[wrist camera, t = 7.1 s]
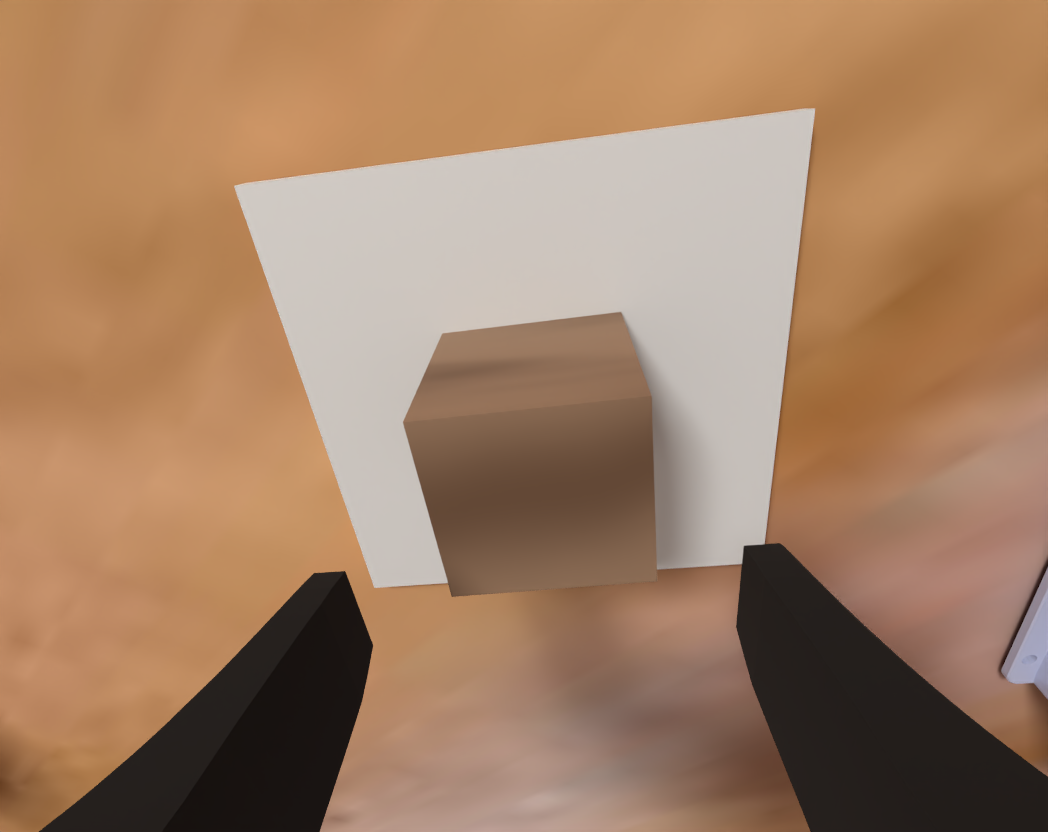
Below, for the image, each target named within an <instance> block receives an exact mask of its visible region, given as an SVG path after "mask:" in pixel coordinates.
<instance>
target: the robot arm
mask: <svg viewBox="0 0 1048 832" xmlns="http://www.w3.org/2000/svg"><path fill="white" fill-rule="evenodd" d="M736 627H737V631H738V635H739V639H740V642H741V646H742V650H743V654H744V657H745V661H746V664H747V668H748V671H749V675H750V678H751V682H752V685H753V688H754V690H755V693H756V695H757V698H758V701H759V703H760V706H761V708H762V711H763V713H764V716H765V718H766V721H767V723H768V726H769V728H770V731H771V734H772V736H773V739H774V741H775V743H776V746H777V748H778V751H779V753H780V756H781V758H782V761H783V763H784V766H785V768H786V771H787V773H788V776H789V778H790V781H791V783H792V786H793V788H794V791H795V793H796V796H797V798H798V801H799V803H800V806H801V808H802V811H803V813H804V816H805V818H806V821H807V823H808V826H809V828H810V831H811V832H1048V777H1047V776H1046V775H1045V774H1043V773H1042V772H1040V771H1039V770H1038V769H1036V768H1035V767H1034V766H1032V765H1031V764H1030V763H1028V762H1027V761H1026V760H1024V759H1023V758H1022V757H1020V756H1019V755H1018V754H1017V753H1015V752H1014V751H1013V750H1011V749H1010V748H1009V747H1007V746H1006V745H1005V744H1003V743H1002V742H1001V741H999V740H998V739H997V738H995V737H994V736H993V735H992V734H990V733H989V732H988V731H987V730H985V729H984V728H983V727H982V726H980V725H979V724H978V723H976V722H975V721H974V720H973V719H971V718H970V717H969V716H968V715H967V714H965V713H964V712H963V711H962V710H960V709H959V708H958V707H957V706H956V705H954V704H953V703H952V702H951V701H949V700H948V699H947V698H946V697H945V696H944V695H942V694H941V693H940V692H939V691H938V690H936V689H935V688H934V687H933V686H932V685H931V684H929V683H928V682H927V681H926V680H925V679H923V678H922V677H921V676H920V675H919V674H918V673H916V672H915V671H914V670H913V669H912V668H911V667H910V666H909V665H907V664H906V663H905V662H904V661H903V660H902V659H901V658H899V657H898V656H897V655H896V654H895V653H894V652H893V651H892V650H891V649H889V648H888V647H887V646H886V645H885V644H884V643H883V642H882V641H881V640H880V639H879V638H878V637H876V636H875V635H874V634H873V633H872V632H871V631H870V630H869V629H868V628H867V627H866V626H864V625H863V624H862V623H861V622H860V621H859V620H858V619H857V618H856V617H855V616H854V615H853V614H852V613H851V612H850V611H849V610H848V609H846V608H845V607H844V606H843V605H842V604H841V603H840V602H839V601H838V600H837V599H836V598H835V597H834V596H833V595H832V594H831V593H830V592H829V591H828V590H827V589H826V588H825V587H824V586H823V585H822V584H821V583H820V582H819V581H818V580H817V579H816V578H815V577H814V576H813V575H812V574H811V573H810V572H809V571H808V570H807V569H806V568H805V567H804V566H803V565H802V564H801V563H800V562H799V561H798V560H797V559H796V558H795V557H794V556H793V555H792V554H791V553H790V552H789V551H788V550H787V549H786V548H785V547H784V546H783V545H781V544H780V543H777V544H762V545H746V546H744V548H743V559H742V570H741V581H740V592H739V603H738V614H737V625H736ZM372 648H373V644H372V641H371V639H370V636H369V633H368V631H367V628H366V625H365V623H364V620H363V617H362V615H361V612H360V609H359V607H358V604H357V601H356V599H355V596H354V593H353V591H352V588H351V586H350V583H349V580H348V578H347V575H346V572H345V571H342V572H326V573H314V574H313V575H312V576H311V577H310V578H309V579H308V580H307V581H306V582H305V583H304V584H303V585H302V586H301V587H300V588H299V589H298V590H297V591H296V592H295V593H294V594H293V595H292V596H291V597H290V599H289V600H288V601H287V602H286V603H285V604H284V605H283V606H282V607H281V608H280V609H279V610H278V611H277V612H276V614H275V615H274V616H273V617H272V618H271V619H270V620H269V621H268V622H267V623H266V624H265V625H264V626H263V627H262V628H261V630H260V631H259V632H258V633H257V634H256V635H255V636H254V637H253V638H252V639H251V640H250V641H249V642H248V643H247V644H246V645H245V646H244V647H243V648H242V649H241V650H240V651H239V652H238V654H237V655H236V656H235V657H234V658H233V659H232V660H231V661H230V662H229V663H228V664H227V665H226V666H225V667H224V668H223V669H222V670H221V671H220V672H219V673H218V674H217V675H216V676H215V677H214V678H213V679H212V680H211V681H210V682H209V683H208V684H207V685H206V686H205V687H204V688H203V689H202V690H201V691H200V692H199V693H198V694H197V695H196V696H195V697H193V698H192V699H191V700H190V701H189V702H188V703H187V704H186V705H185V706H184V707H183V708H182V709H181V710H180V711H179V712H178V713H177V714H176V715H175V716H174V717H173V718H172V719H171V720H170V721H169V722H168V723H167V724H166V725H165V726H164V727H163V728H161V729H160V730H159V731H158V732H157V733H156V734H155V735H154V736H153V737H152V738H151V739H149V740H148V741H147V742H146V743H145V744H144V745H143V746H142V747H141V748H139V749H138V750H137V751H136V752H135V753H134V754H133V755H132V756H130V757H129V758H128V759H127V760H126V761H125V762H123V763H122V764H121V765H120V766H119V767H118V768H116V769H115V770H114V771H113V772H112V773H111V774H109V775H108V776H107V777H106V778H105V779H104V780H102V781H101V782H100V783H99V784H98V785H97V786H95V787H94V788H93V789H92V790H91V791H90V792H88V793H87V794H86V795H85V796H83V797H82V798H81V799H80V800H79V801H77V802H76V803H75V804H74V805H72V806H71V807H70V808H69V809H67V810H66V811H65V812H63V813H62V814H61V815H60V816H58V817H57V818H56V819H55V820H53V821H52V822H51V823H49V824H48V825H47V826H46V827H44V828H43V829H42V830H40V831H39V832H320V829H321V825H322V822H323V819H324V816H325V813H326V810H327V807H328V804H329V801H330V798H331V795H332V792H333V789H334V786H335V783H336V780H337V777H338V774H339V771H340V768H341V765H342V762H343V759H344V756H345V753H346V750H347V747H348V743H349V740H350V737H351V734H352V731H353V728H354V725H355V722H356V719H357V715H358V712H359V709H360V706H361V703H362V698H363V694H364V689H365V684H366V680H367V675H368V670H369V664H370V659H371V654H372ZM1001 672H1002V674H1003V675H1004V676H1005V678H1006V679H1007V680H1008V681H1009V682H1011V683H1017V684H1019V683H1034V684H1035V685H1036V686H1037V688H1038V689H1039V690H1040V691H1041V692H1042V693H1043V695H1044V696H1045V697H1046V698H1047V699H1048V568H1047V570H1046V572H1045V575H1044V577H1043V579H1042V581H1041V583H1040V586H1039V588H1038V590H1037V592H1036V594H1035V597H1034V599H1033V601H1032V603H1031V605H1030V608H1029V610H1028V612H1027V614H1026V616H1025V619H1024V621H1023V623H1022V625H1021V627H1020V630H1019V632H1018V634H1017V636H1016V638H1015V641H1014V643H1013V645H1012V647H1011V649H1010V652H1009V654H1008V656H1007V658H1006V660H1005V663H1004V665H1003V667H1002V670H1001Z"/></svg>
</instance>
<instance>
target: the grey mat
mask: <svg viewBox="0 0 1048 832" xmlns="http://www.w3.org/2000/svg"><path fill="white" fill-rule="evenodd" d="M814 115H815V109H798V110H790V111H783V112H775V113H768V114H760V115H752V116H745V117H737V118H730V119H722V120H715V121H707V122H700V123H692V124H685V125H677V126H670V127H662V128H655V129H647V130H640V131H632V132H625V133H617V134H610V135H602V136H595V137H587V138H580V139H572V140H565V141H557V142H550V143H542V144H535V145H527V146H520V147H512V148H505V149H497V150H490V151H482V152H475V153H467V154H460V155H452V156H445V157H437V158H430V159H422V160H415V161H407V162H400V163H392V164H385V165H377V166H370V167H362V168H355V169H347V170H340V171H332V172H325V173H317V174H310V175H302V176H295V177H287V178H280V179H272V180H265V181H257V182H250V183H244V184H240V185H236V186H234V187H235V190H236V193H237V196H238V198H239V201H240V204H241V207H242V210H243V213H244V216H245V218H246V221H247V224H248V227H249V230H250V233H251V236H252V239H253V241H254V244H255V247H256V250H257V253H258V256H259V259H260V261H261V264H262V267H263V270H264V273H265V276H266V279H267V281H268V284H269V287H270V290H271V293H272V296H273V299H274V301H275V304H276V307H277V310H278V313H279V316H280V319H281V321H282V324H283V327H284V330H285V333H286V336H287V339H288V341H289V344H290V347H291V350H292V353H293V356H294V359H295V362H296V364H297V367H298V370H299V373H300V376H301V379H302V382H303V384H304V387H305V390H306V393H307V396H308V399H309V402H310V404H311V407H312V410H313V413H314V416H315V419H316V422H317V424H318V427H319V430H320V433H321V436H322V439H323V442H324V444H325V447H326V450H327V453H328V456H329V459H330V462H331V464H332V467H333V470H334V473H335V476H336V479H337V482H338V485H339V487H340V490H341V493H342V496H343V499H344V502H345V505H346V507H347V510H348V513H349V516H350V519H351V522H352V525H353V527H354V530H355V533H356V536H357V539H358V542H359V545H360V547H361V550H362V553H363V556H364V559H365V562H366V565H367V567H368V570H369V573H370V576H371V579H372V582H373V585H374V587H375V588H379V587H394V586H410V585H425V584H440V583H448V581H447V577H446V574H445V570H444V567H443V563H442V560H441V556H440V553H439V549H438V546H437V542H436V538H435V535H434V531H433V528H432V524H431V521H430V517H429V514H428V510H427V507H426V503H425V499H424V496H423V492H422V489H421V485H420V482H419V478H418V475H417V471H416V468H415V464H414V461H413V457H412V453H411V450H410V446H409V443H408V439H407V436H406V432H405V429H404V425H403V421H404V418H405V416H406V414H407V412H408V409H409V407H410V405H411V403H412V400H413V398H414V396H415V394H416V391H417V389H418V387H419V385H420V382H421V380H422V378H423V376H424V373H425V371H426V369H427V367H428V364H429V362H430V360H431V358H432V355H433V353H434V351H435V349H436V346H437V344H438V342H439V340H440V337H441V335H442V333H450V332H459V331H467V330H475V329H483V328H492V327H500V326H508V325H516V324H524V323H533V322H541V321H549V320H557V319H566V318H574V317H582V316H590V315H599V314H607V313H615V312H621V313H622V316H623V319H624V321H625V324H626V327H627V330H628V332H629V335H630V338H631V341H632V343H633V346H634V349H635V352H636V354H637V357H638V360H639V363H640V365H641V368H642V371H643V374H644V376H645V379H646V382H647V385H648V387H649V390H650V393H651V396H652V425H653V457H654V490H655V522H656V555H657V569H672V568H688V567H703V566H719V565H734V564H742V559H743V548H744V546H746V545H762V544H765V536H766V527H767V519H768V510H769V502H770V493H771V484H772V476H773V467H774V459H775V450H776V441H777V433H778V424H779V416H780V407H781V398H782V390H783V381H784V373H785V364H786V355H787V347H788V338H789V330H790V321H791V312H792V304H793V295H794V287H795V278H796V269H797V261H798V252H799V244H800V235H801V226H802V218H803V209H804V201H805V192H806V183H807V175H808V166H809V158H810V149H811V140H812V132H813V123H814Z"/></svg>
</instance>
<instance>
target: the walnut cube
mask: <svg viewBox="0 0 1048 832" xmlns="http://www.w3.org/2000/svg"><path fill="white" fill-rule="evenodd" d="M403 425H404V429H405V432H406V436H407V439H408V443H409V446H410V450H411V453H412V457H413V461H414V464H415V468H416V471H417V475H418V478H419V482H420V485H421V489H422V492H423V496H424V499H425V503H426V507H427V510H428V514H429V517H430V521H431V524H432V528H433V531H434V535H435V538H436V542H437V546H438V549H439V553H440V556H441V560H442V563H443V567H444V570H445V574H446V577H447V581H448V585H449V588H450V592H451V595H452V597H455V596H468V595H481V594H495V593H508V592H522V591H535V590H548V589H562V588H575V587H588V586H602V585H615V584H629V583H642V582H655V581H657V555H656V522H655V490H654V457H653V425H652V396H651V393H650V390H649V387H648V385H647V382H646V379H645V376H644V374H643V371H642V368H641V365H640V363H639V360H638V357H637V354H636V352H635V349H634V346H633V343H632V341H631V338H630V335H629V332H628V330H627V327H626V324H625V321H624V319H623V316H622V313H621V312H615V313H607V314H599V315H590V316H582V317H574V318H566V319H557V320H549V321H541V322H533V323H524V324H516V325H508V326H500V327H492V328H483V329H475V330H467V331H459V332H450V333H442V335H441V337H440V340H439V342H438V344H437V346H436V349H435V351H434V353H433V355H432V358H431V360H430V362H429V364H428V367H427V369H426V371H425V373H424V376H423V378H422V380H421V382H420V385H419V387H418V389H417V391H416V394H415V396H414V398H413V400H412V403H411V405H410V407H409V409H408V412H407V414H406V416H405V418H404V421H403Z"/></svg>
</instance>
